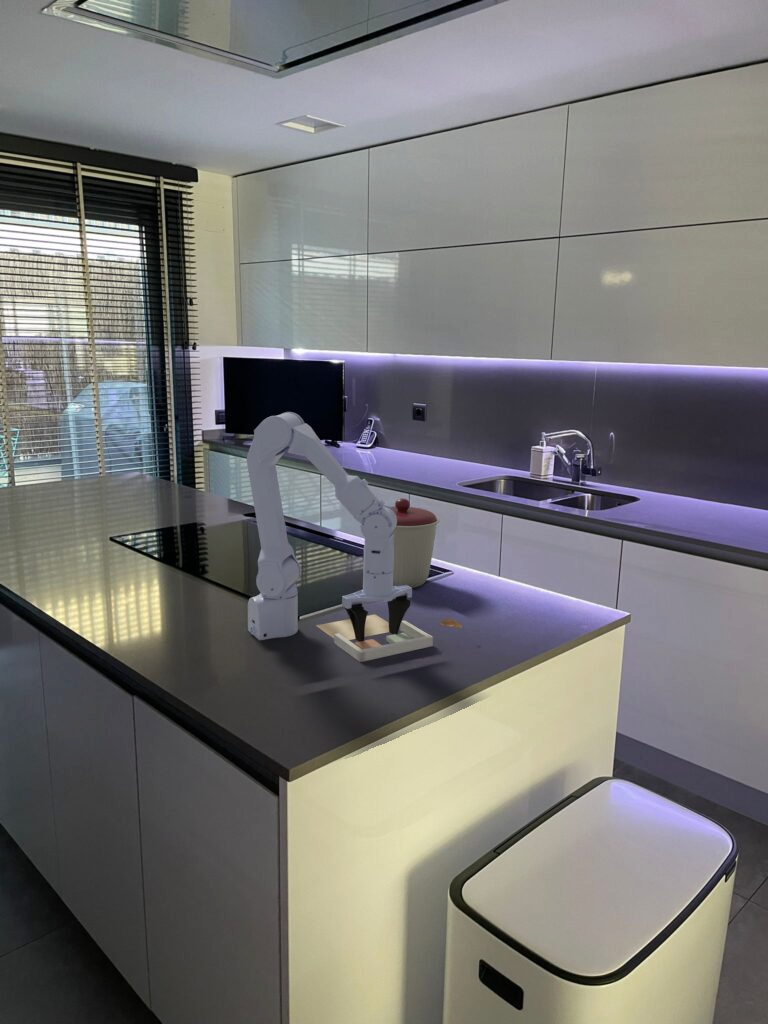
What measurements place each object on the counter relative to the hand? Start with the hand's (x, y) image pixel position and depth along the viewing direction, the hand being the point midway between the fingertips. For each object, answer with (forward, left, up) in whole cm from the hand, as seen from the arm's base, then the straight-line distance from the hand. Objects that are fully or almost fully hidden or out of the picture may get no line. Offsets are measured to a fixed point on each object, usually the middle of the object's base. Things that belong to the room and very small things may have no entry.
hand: (376, 637), depth 150 cm
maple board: (0, +7, -2) cm, 8 cm away
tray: (0, -2, -2) cm, 3 cm away
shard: (+18, +3, -2) cm, 19 cm away
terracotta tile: (-4, -3, -1) cm, 5 cm away
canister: (+26, +31, -2) cm, 41 cm away
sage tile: (+4, -3, -1) cm, 5 cm away
